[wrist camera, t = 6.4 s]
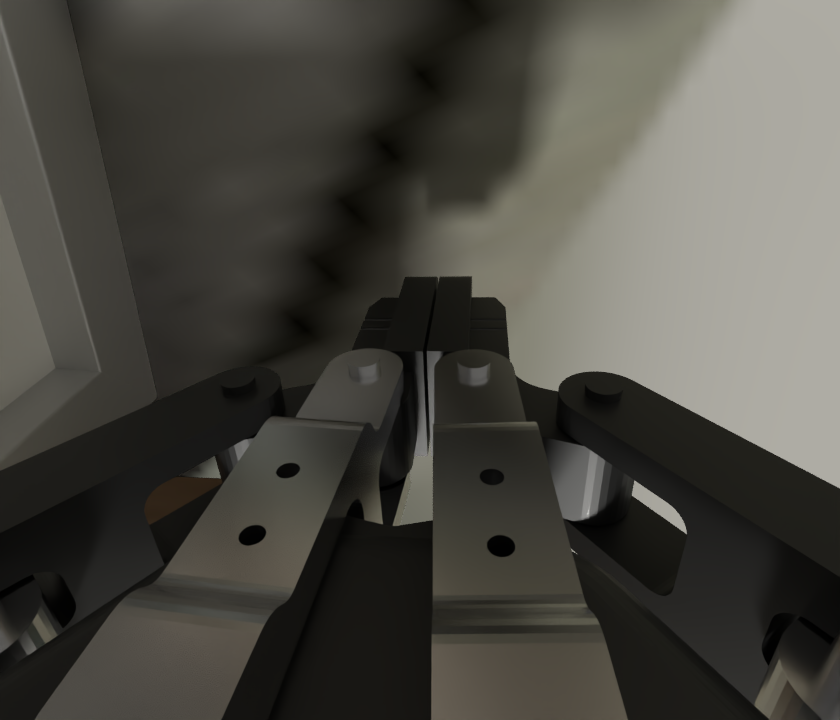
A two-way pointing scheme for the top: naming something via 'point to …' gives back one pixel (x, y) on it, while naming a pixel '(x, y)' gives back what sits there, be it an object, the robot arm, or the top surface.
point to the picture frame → (58, 249)
